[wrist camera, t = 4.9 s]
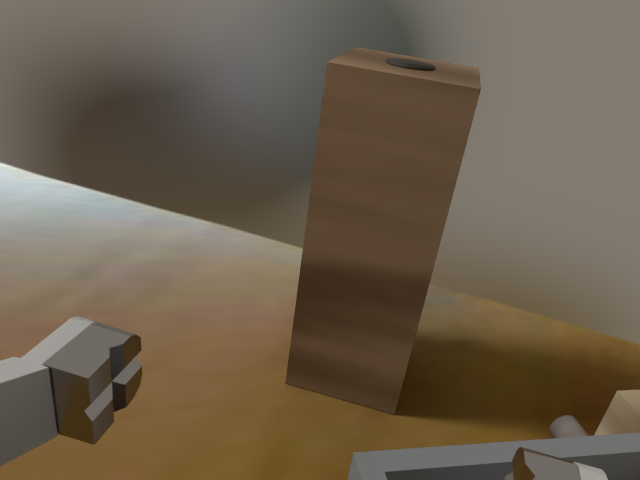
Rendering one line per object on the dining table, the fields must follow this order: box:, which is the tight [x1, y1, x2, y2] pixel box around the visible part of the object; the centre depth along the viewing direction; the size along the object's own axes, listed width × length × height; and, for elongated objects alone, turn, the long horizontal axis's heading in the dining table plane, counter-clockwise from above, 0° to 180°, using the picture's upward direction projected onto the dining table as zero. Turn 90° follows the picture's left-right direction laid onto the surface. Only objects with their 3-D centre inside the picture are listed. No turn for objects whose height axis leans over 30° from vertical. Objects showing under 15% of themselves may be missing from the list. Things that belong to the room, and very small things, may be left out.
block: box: [286, 47, 481, 415], centre depth 22 cm, size 5×5×14 cm
